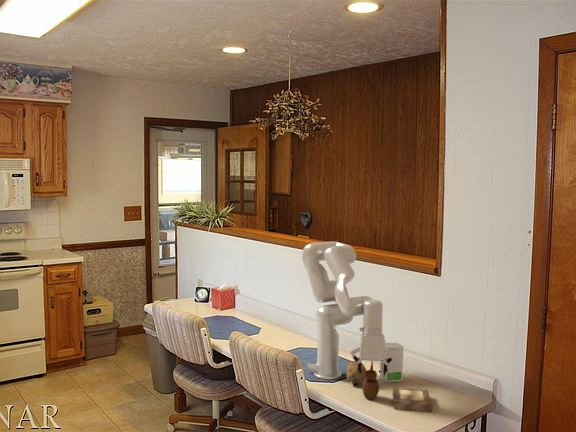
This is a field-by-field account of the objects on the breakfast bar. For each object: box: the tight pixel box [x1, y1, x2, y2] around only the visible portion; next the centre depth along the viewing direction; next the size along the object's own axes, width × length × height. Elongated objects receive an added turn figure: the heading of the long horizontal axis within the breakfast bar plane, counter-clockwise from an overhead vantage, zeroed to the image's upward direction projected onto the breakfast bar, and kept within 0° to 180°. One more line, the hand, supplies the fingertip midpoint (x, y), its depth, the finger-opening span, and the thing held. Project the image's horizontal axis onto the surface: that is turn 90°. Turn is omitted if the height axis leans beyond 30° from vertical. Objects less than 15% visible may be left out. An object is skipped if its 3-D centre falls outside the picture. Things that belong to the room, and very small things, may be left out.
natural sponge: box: [345, 360, 368, 385], centre depth 234 cm, size 9×9×10 cm
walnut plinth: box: [392, 387, 433, 413], centre depth 215 cm, size 14×14×3 cm
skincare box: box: [379, 342, 404, 383], centre depth 239 cm, size 8×7×16 cm
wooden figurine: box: [362, 361, 380, 400], centre depth 219 cm, size 7×6×15 cm
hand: (372, 373), depth 218 cm, fingers open, 9 cm apart
